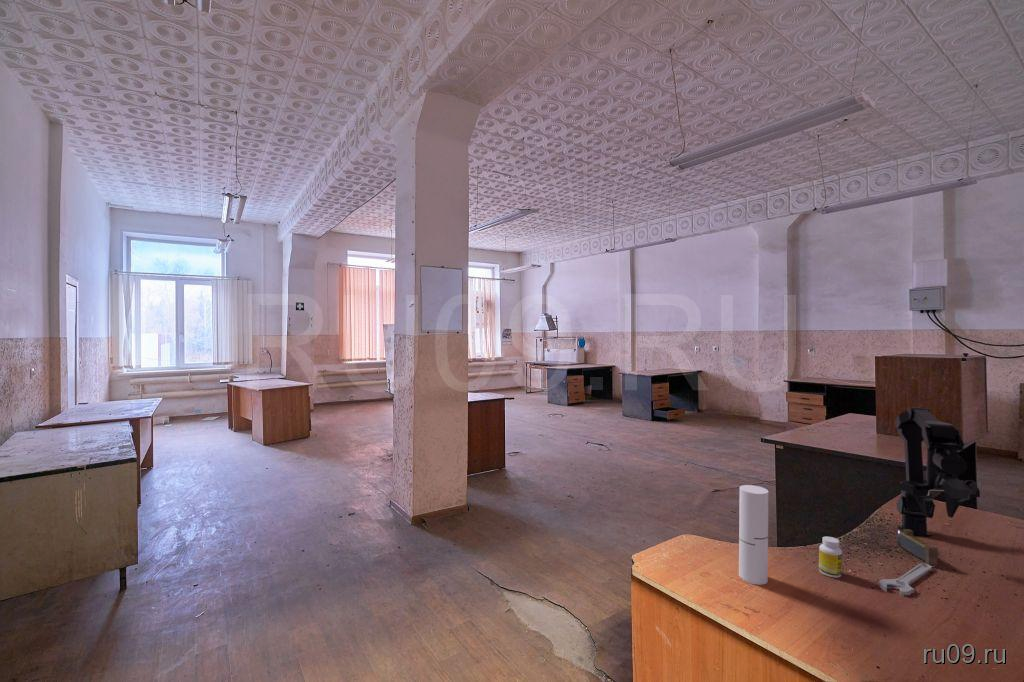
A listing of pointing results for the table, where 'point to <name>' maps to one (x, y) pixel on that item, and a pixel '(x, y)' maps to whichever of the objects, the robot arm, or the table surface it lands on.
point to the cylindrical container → (753, 534)
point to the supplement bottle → (830, 557)
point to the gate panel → (911, 544)
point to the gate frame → (927, 552)
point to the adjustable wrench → (905, 579)
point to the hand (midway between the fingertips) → (938, 516)
